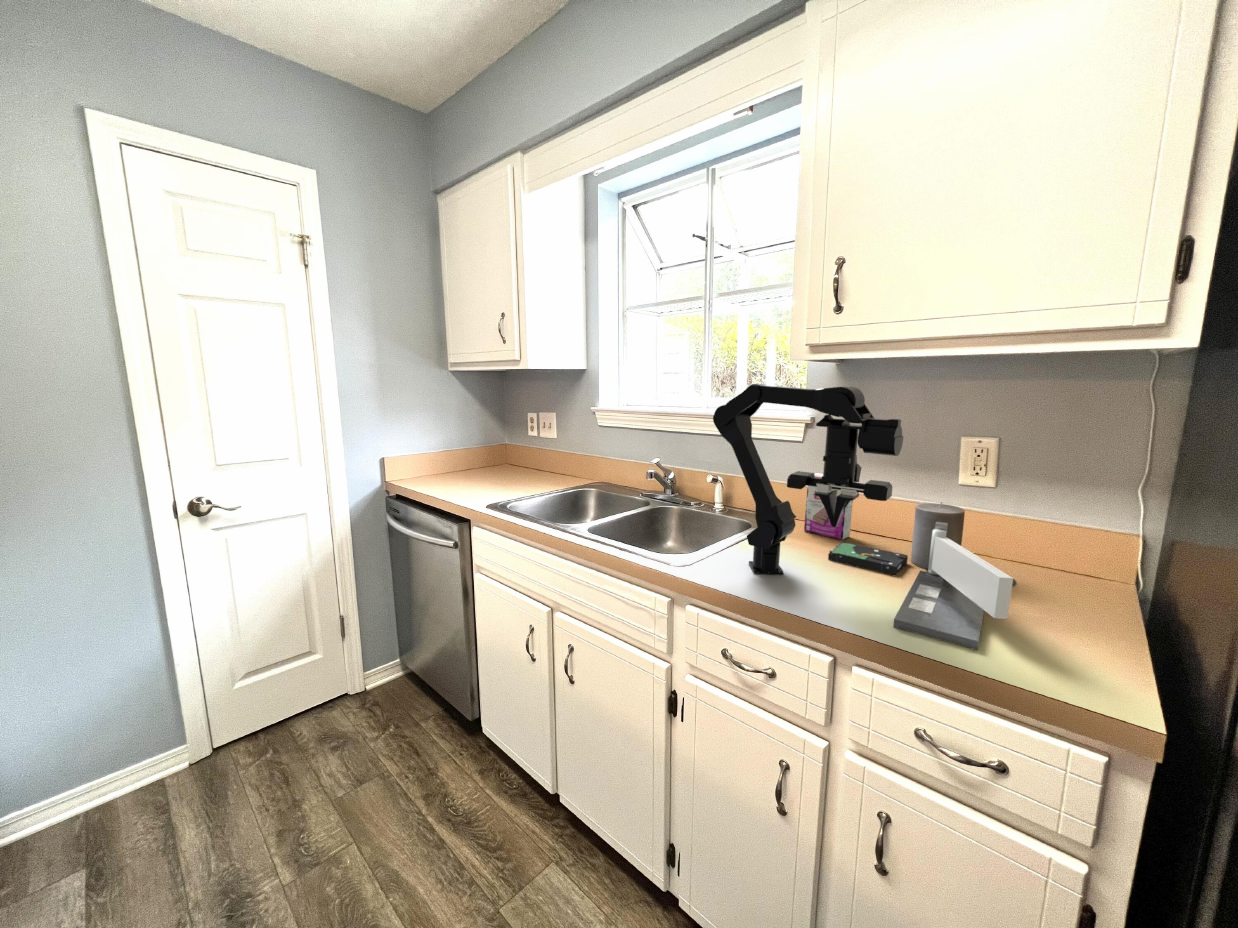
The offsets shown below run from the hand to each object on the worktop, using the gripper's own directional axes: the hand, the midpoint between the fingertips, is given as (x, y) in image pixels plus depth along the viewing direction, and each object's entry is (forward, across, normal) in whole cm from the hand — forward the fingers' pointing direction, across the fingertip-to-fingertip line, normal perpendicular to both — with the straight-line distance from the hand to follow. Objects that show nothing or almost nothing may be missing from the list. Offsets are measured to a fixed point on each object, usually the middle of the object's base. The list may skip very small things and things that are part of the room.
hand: (834, 526), depth 102 cm
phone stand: (+13, -20, -4) cm, 24 cm away
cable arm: (+10, -23, -5) cm, 25 cm away
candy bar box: (+13, +11, -37) cm, 41 cm away
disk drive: (+14, -3, -21) cm, 25 cm away
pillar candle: (+13, -15, -29) cm, 35 cm away
